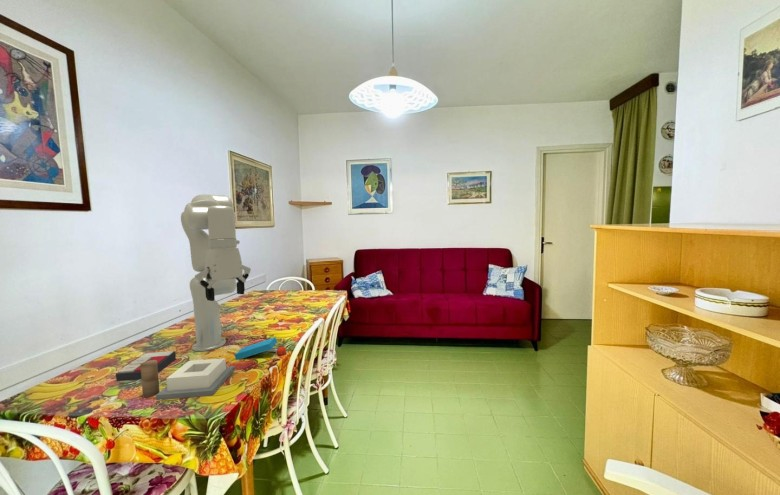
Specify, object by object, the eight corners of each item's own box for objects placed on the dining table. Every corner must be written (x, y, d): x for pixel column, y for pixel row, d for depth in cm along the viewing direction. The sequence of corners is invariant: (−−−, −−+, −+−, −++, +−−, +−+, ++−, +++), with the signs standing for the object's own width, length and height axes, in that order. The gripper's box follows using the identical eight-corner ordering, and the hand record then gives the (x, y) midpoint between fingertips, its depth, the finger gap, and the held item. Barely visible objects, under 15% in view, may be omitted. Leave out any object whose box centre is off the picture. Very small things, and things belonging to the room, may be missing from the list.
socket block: (187, 373, 103) (186, 358, 102) (234, 370, 104) (233, 355, 104) (156, 399, 87) (154, 382, 86) (212, 395, 89) (211, 377, 88)
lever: (240, 371, 114) (283, 357, 114) (234, 354, 113) (278, 340, 113) (248, 363, 121) (289, 349, 121) (242, 347, 120) (284, 334, 120)
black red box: (114, 372, 98) (144, 351, 113) (116, 384, 99) (146, 362, 114) (150, 369, 100) (175, 349, 115) (151, 380, 101) (176, 359, 115)
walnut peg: (148, 390, 92) (146, 360, 92) (162, 389, 93) (160, 359, 92) (139, 398, 88) (136, 366, 88) (153, 396, 89) (151, 365, 88)
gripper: (241, 243, 102) (244, 290, 103) (187, 246, 87) (191, 301, 88) (254, 243, 98) (257, 292, 99) (200, 246, 83) (204, 304, 85)
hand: (226, 297), depth 94 cm, fingers open, 9 cm apart
